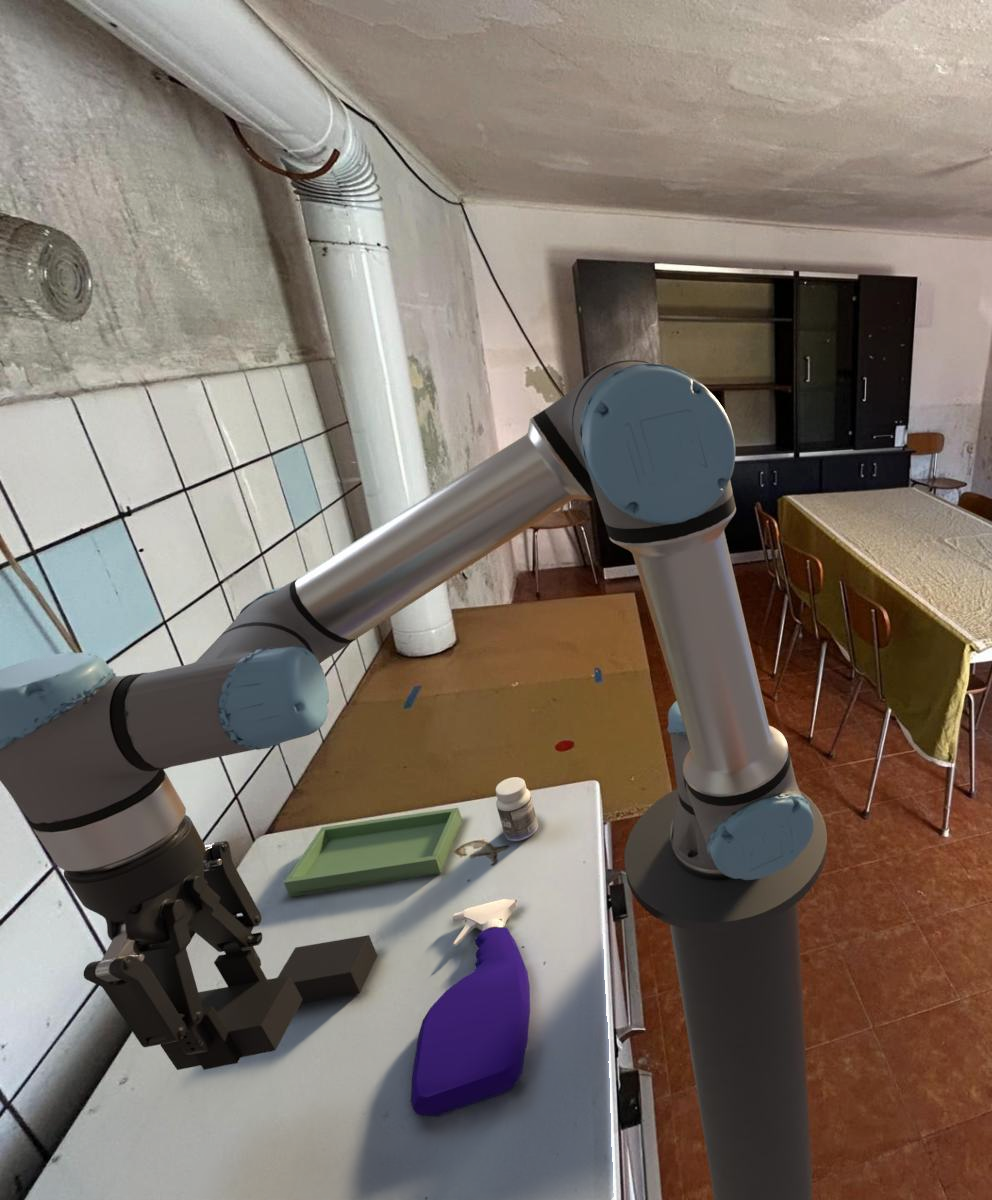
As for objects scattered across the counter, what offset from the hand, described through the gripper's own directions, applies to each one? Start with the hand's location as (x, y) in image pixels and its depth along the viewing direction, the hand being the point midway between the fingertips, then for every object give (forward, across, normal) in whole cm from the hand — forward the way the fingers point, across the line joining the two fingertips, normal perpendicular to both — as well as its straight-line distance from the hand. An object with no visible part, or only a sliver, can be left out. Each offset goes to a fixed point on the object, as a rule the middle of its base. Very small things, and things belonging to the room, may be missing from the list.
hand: (241, 1030), depth 61 cm
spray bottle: (+10, -7, +18) cm, 21 cm away
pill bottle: (+10, -33, +17) cm, 39 cm away
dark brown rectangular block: (+10, -12, 0) cm, 16 cm away
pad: (0, 0, 0) cm, 0 cm away
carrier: (+10, -32, -2) cm, 34 cm away
